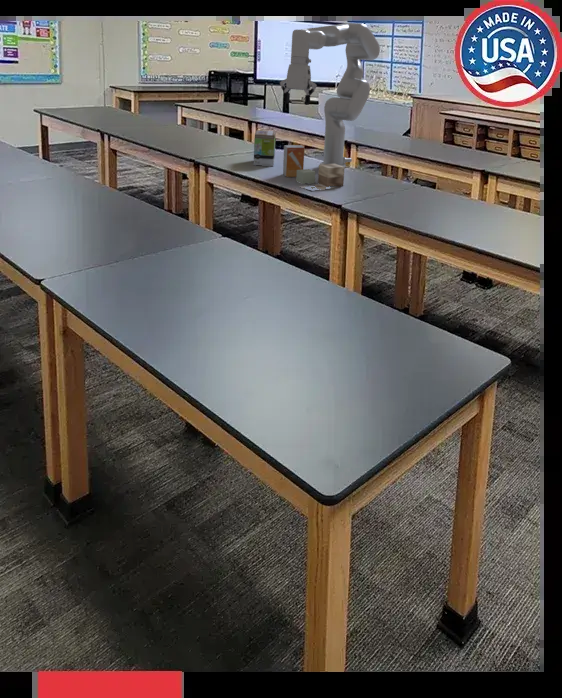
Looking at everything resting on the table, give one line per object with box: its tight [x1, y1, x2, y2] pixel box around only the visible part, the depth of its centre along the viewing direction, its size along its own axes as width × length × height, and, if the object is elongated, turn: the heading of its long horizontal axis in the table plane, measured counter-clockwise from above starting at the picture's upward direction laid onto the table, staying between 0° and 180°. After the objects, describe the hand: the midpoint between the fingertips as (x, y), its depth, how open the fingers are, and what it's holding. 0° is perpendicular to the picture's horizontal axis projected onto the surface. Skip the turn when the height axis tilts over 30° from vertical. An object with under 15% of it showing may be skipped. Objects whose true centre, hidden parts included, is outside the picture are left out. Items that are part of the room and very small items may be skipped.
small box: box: [282, 144, 305, 178], centre depth 304 cm, size 8×6×13 cm
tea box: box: [253, 129, 277, 167], centre depth 329 cm, size 15×10×15 cm, turn 179°
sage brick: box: [295, 168, 316, 185], centre depth 294 cm, size 6×6×5 cm
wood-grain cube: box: [317, 164, 346, 187], centre depth 290 cm, size 8×8×8 cm
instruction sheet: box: [300, 184, 327, 191], centre depth 285 cm, size 12×9×1 cm
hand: (296, 103), depth 297 cm, fingers open, 9 cm apart
